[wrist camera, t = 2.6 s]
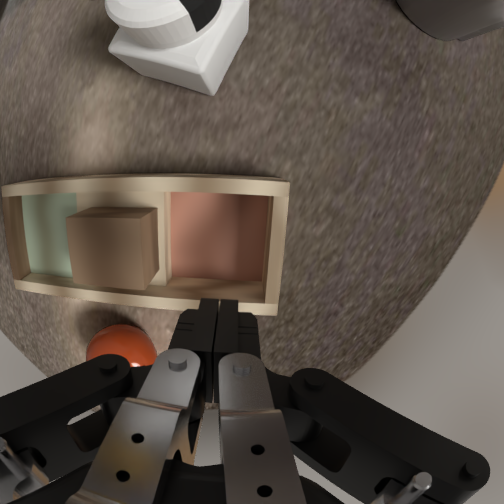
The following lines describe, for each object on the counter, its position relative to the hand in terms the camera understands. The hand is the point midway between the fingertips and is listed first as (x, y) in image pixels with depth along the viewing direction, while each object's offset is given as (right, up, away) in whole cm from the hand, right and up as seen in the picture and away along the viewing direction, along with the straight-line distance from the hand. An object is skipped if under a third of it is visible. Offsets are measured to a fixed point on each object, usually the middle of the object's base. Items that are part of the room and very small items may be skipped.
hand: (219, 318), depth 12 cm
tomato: (-11, -7, +17) cm, 21 cm away
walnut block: (-9, +4, +10) cm, 14 cm away
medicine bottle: (-4, +20, +8) cm, 22 cm away
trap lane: (-9, +5, +13) cm, 16 cm away
